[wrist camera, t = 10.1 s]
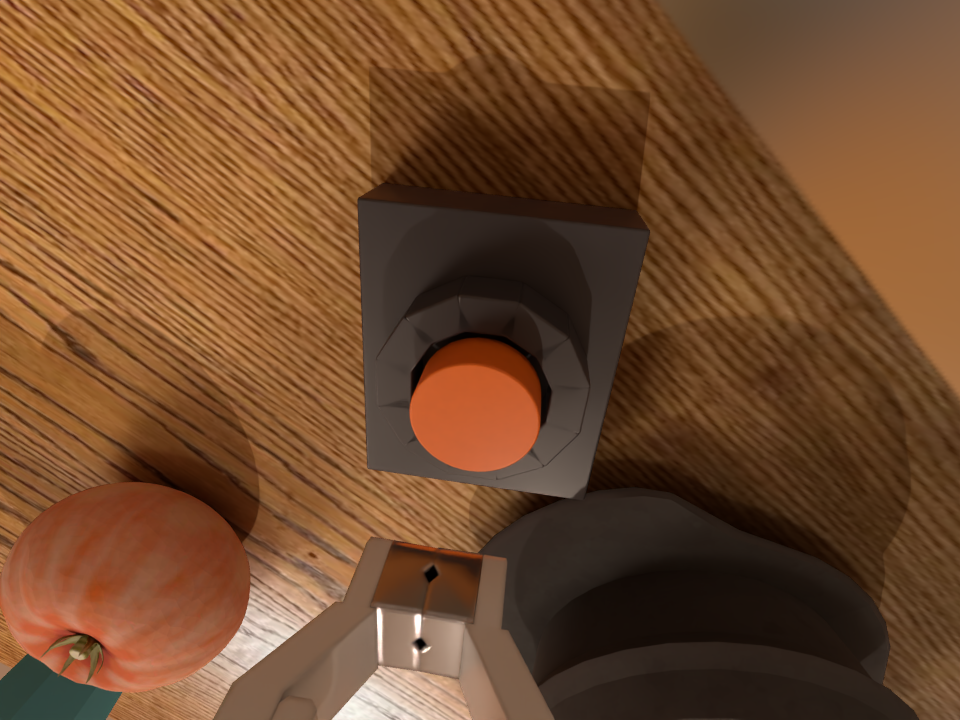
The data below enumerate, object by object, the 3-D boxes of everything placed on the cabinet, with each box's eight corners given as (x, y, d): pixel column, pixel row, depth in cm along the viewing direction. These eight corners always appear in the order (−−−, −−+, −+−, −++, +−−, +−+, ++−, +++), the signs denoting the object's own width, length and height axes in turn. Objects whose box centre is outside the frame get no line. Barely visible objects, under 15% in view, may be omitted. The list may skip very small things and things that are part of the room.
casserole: (393, 561, 28) (336, 734, 20) (705, 381, 20) (793, 551, 13) (653, 772, 35) (681, 955, 28) (955, 696, 27) (1102, 919, 20)
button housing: (381, 182, 18) (334, 210, 14) (638, 210, 17) (663, 247, 14) (385, 430, 23) (352, 500, 20) (581, 458, 23) (587, 536, 19)
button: (423, 328, 16) (409, 355, 15) (549, 345, 16) (549, 373, 14) (420, 430, 18) (407, 462, 16) (532, 446, 18) (531, 481, 16)
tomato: (79, 420, 26) (-97, 548, 19) (287, 484, 26) (190, 632, 19) (99, 557, 31) (-32, 696, 24) (271, 608, 31) (191, 759, 24)
